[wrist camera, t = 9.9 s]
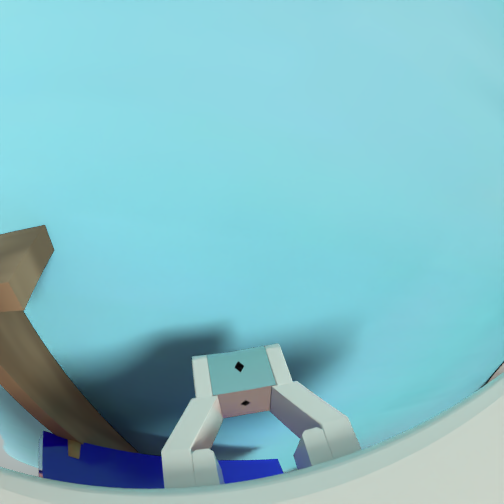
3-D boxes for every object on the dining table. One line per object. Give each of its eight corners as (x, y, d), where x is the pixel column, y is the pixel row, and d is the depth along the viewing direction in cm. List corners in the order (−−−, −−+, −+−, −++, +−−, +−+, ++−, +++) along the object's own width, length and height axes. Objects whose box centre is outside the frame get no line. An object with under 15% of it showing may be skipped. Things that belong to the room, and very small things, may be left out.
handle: (45, 224, 8) (-6, 308, 5) (180, 460, 22) (185, 498, 19) (-32, 242, 8) (-81, 312, 4) (137, 461, 21) (139, 499, 18)
